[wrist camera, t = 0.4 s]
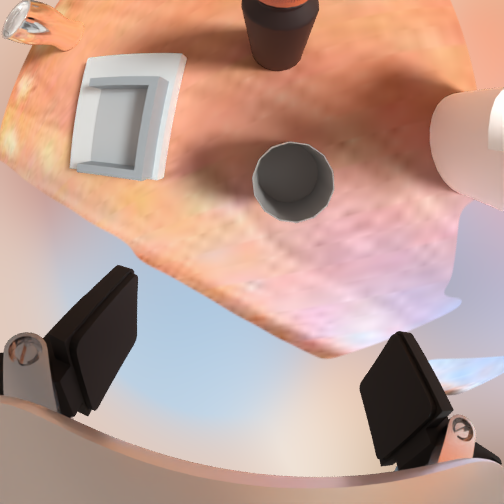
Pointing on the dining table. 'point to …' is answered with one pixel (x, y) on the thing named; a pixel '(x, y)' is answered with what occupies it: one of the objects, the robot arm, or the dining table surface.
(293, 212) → the cup
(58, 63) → the dining table surface
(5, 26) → the beer glass
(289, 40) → the bottle
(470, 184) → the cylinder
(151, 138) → the dock
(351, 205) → the dining table surface
